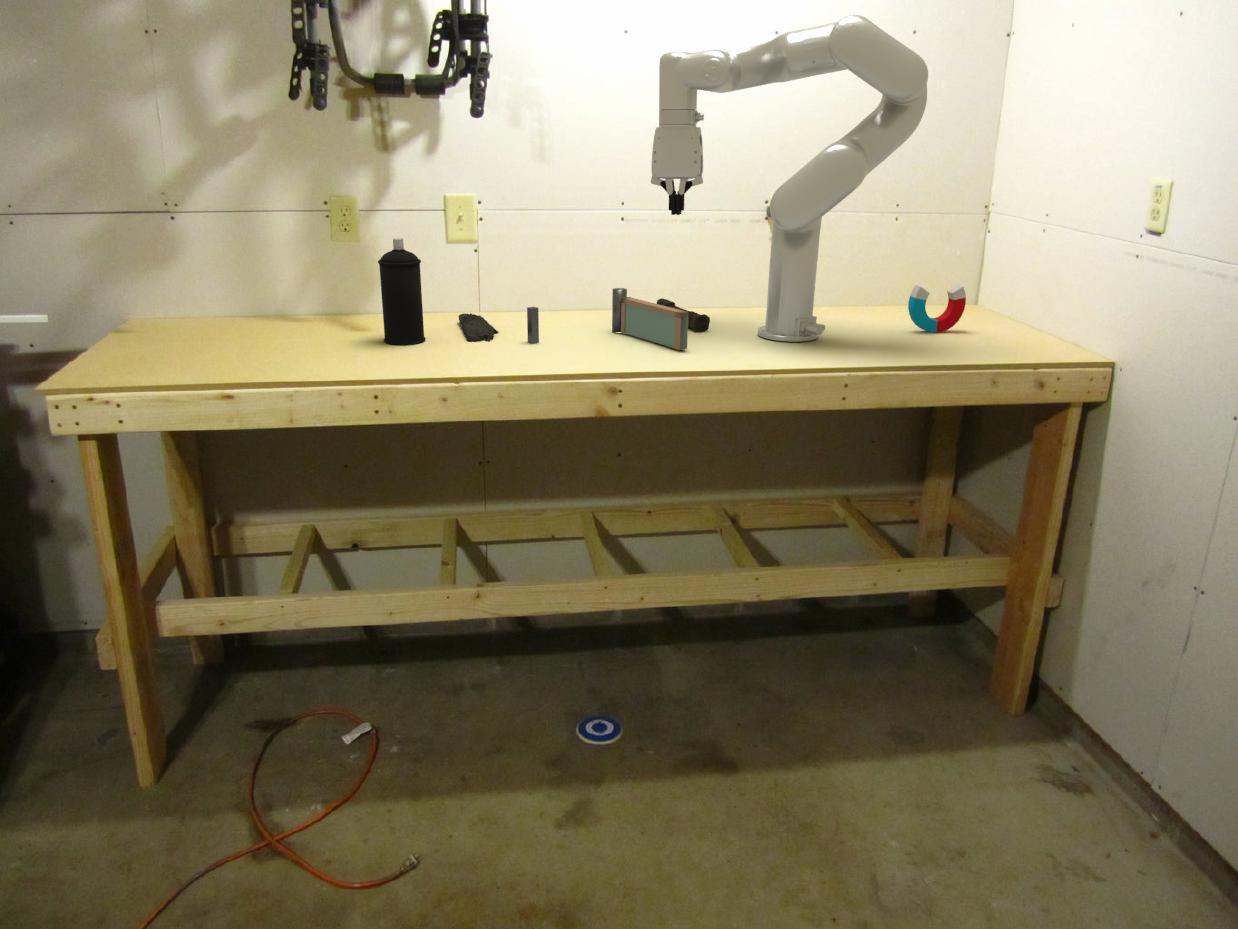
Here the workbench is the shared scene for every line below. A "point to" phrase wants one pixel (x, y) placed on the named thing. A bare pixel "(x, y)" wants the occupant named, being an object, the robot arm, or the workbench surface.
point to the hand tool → (690, 317)
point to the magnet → (943, 321)
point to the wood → (476, 328)
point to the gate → (654, 322)
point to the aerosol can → (401, 296)
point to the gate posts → (616, 316)
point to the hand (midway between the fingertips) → (676, 214)
